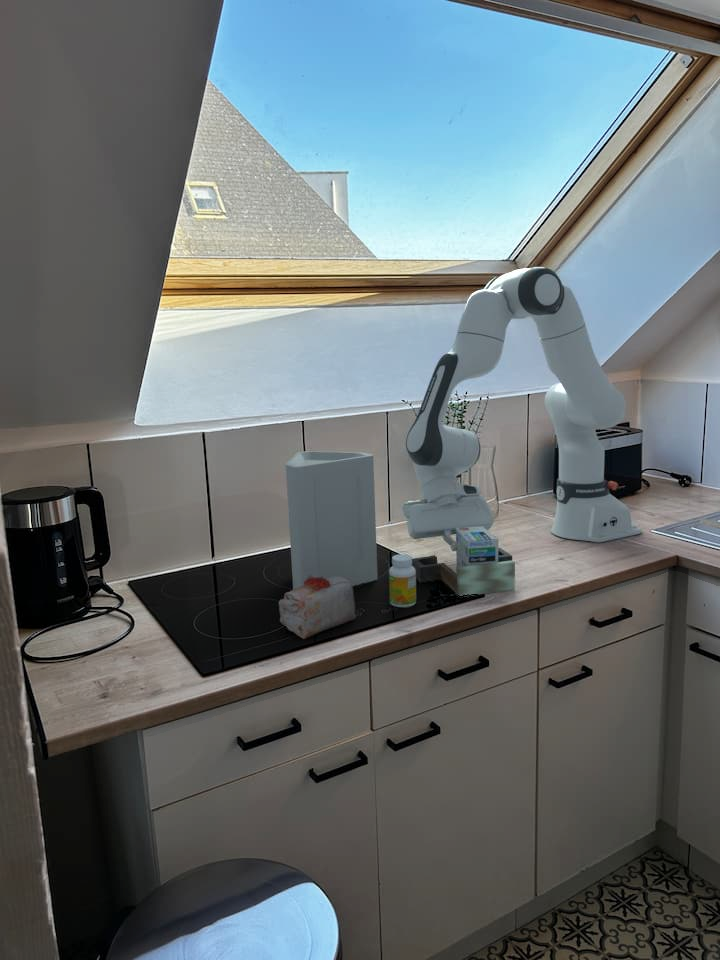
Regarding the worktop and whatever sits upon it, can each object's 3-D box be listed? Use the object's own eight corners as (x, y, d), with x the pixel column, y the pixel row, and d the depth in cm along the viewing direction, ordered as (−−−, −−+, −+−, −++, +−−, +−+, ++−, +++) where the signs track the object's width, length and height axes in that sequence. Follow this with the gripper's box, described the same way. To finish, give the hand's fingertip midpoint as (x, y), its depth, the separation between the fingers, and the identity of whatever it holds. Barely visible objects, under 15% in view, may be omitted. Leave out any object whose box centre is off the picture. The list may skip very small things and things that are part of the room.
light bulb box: (499, 587, 153) (499, 538, 151) (468, 590, 152) (468, 541, 150) (484, 570, 163) (484, 524, 161) (455, 573, 162) (454, 527, 160)
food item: (302, 644, 130) (299, 592, 128) (277, 631, 136) (273, 581, 134) (360, 622, 138) (358, 573, 136) (334, 610, 144) (331, 563, 142)
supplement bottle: (384, 603, 146) (382, 558, 144) (401, 595, 150) (400, 551, 148) (404, 610, 143) (403, 563, 141) (421, 602, 147) (420, 556, 144)
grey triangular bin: (344, 562, 173) (339, 446, 166) (379, 579, 160) (374, 455, 154) (272, 579, 163) (263, 457, 157) (303, 599, 150) (295, 467, 144)
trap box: (498, 561, 169) (499, 536, 167) (534, 586, 152) (535, 559, 151) (410, 572, 163) (409, 547, 162) (438, 600, 147) (437, 572, 146)
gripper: (403, 495, 165) (419, 548, 158) (485, 486, 170) (504, 537, 163) (397, 509, 170) (412, 561, 163) (478, 500, 175) (495, 550, 168)
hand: (459, 549), depth 163 cm, fingers closed
